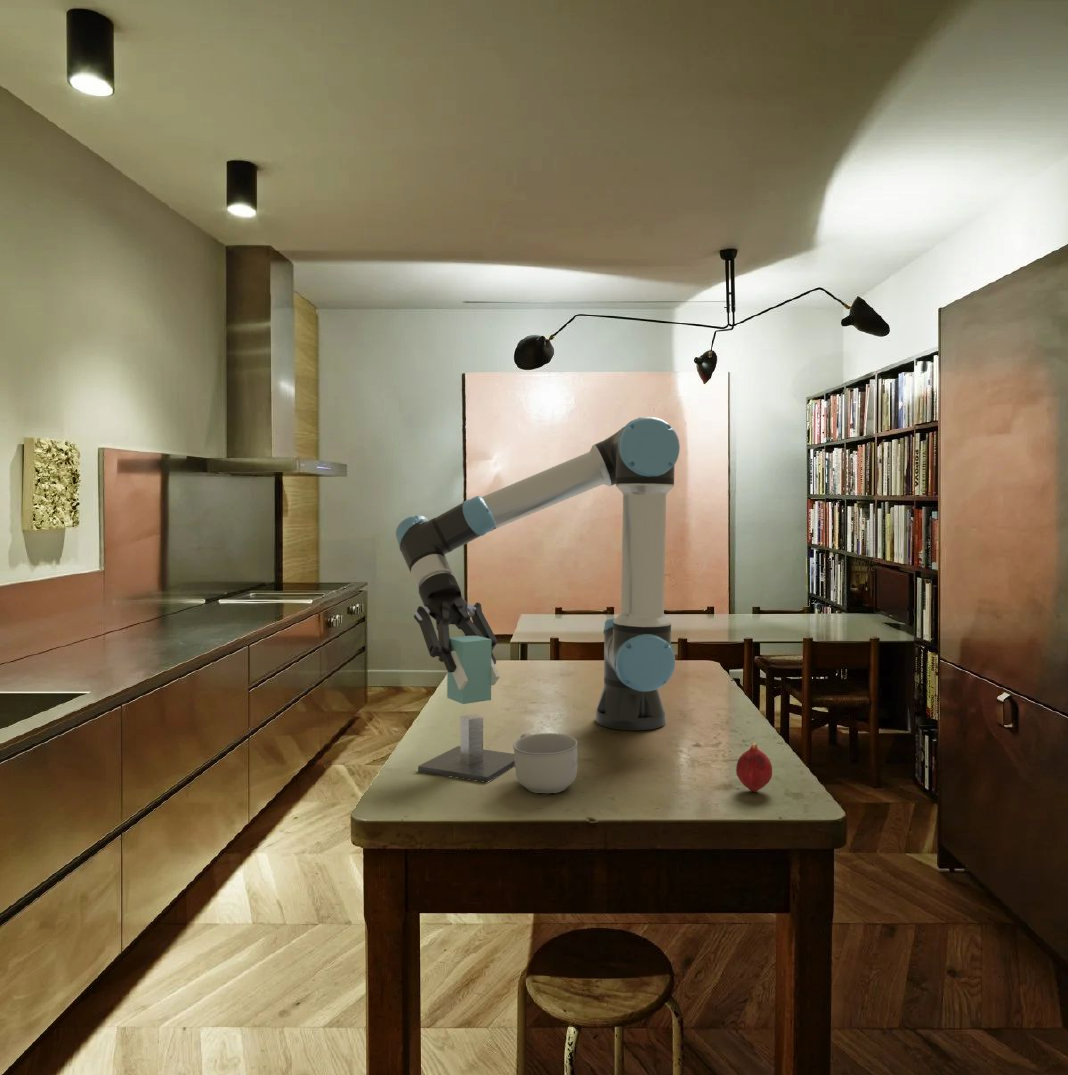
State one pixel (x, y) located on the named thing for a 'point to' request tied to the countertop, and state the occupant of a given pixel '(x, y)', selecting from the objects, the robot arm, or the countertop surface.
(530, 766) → the teacup
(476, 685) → the teal upright box
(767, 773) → the onion
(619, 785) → the countertop surface
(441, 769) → the gray square peg stand
